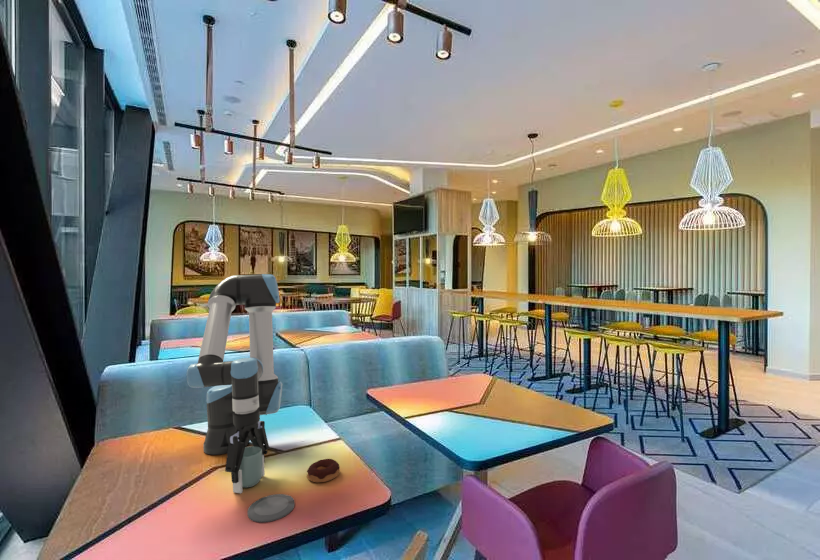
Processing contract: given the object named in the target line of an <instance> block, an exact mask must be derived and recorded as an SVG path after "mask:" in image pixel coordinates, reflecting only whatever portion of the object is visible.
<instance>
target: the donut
mask: <svg viewBox="0 0 820 560" xmlns="http://www.w3.org/2000/svg"><path fill="white" fill-rule="evenodd" d="M340 468H341V466H340V464H339V462H338V461H336V460H335V459H332V458H324V459H319V460H317V461H315V462H312V463H311V464H310V466H309V467H308V468H307V471H306V472H307V474H306V478H307V479H308V480H309V481H311V482H313V483H317V484H318V483H325V482H329V481H331V480H333V479H335V478H336V477H338V476H339V474H340V471H341V469H340Z"/></svg>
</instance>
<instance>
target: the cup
mask: <svg viewBox="0 0 820 560" xmlns="http://www.w3.org/2000/svg"><path fill="white" fill-rule="evenodd" d="M235 467H236V466H235ZM239 470H242V488H245V489H246V488H252V487H254V486H256V485H258V483H259V482H260V481H261V479H262V477H263V476H262V470H263V459H262V449H261V448H260V447H256V446H253V445H252V446H246V447H245V450H244V454H243V458H242V462H241V465H240V469H239Z"/></svg>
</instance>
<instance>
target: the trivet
mask: <svg viewBox="0 0 820 560" xmlns="http://www.w3.org/2000/svg"><path fill="white" fill-rule="evenodd" d="M295 504H296V503H295V499H294V498H293V496H292V495H289V494H285V493H276V494H275V493H274V494H269V495H267V496H263V497H261V498H259V499H257V500H255V501H253V503H251V504H250V505H249V507H248V509H247V517H248V519H249V520H250V521H252V522H255V523H270V522H275V521H279V520H280V519H283V518H284V517H287V516H288V515H289V514H290V513H291V512H292V511H293V510H294V508H295Z"/></svg>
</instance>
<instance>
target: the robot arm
mask: <svg viewBox="0 0 820 560" xmlns="http://www.w3.org/2000/svg"><path fill="white" fill-rule="evenodd" d="M278 285H279V284H278V281H277V278H276V276H275V275H274V274H272V273H271V274H270V273H269V274H268V273H267V274H266V273H261V274H260V273H258V274H235V275H230V276H228V277H226V278H224V279H223V280H221V281H220V282H219V283H218V284H217V285H216V286H215V287H214V288H213V290H212V291H211V293H210V294H209V297H208V301H207V307H208V308H209V309H208V315H207V317H206V318H207V319H206V323H205V328H204V333H203V337H202V342H201V345H200V350H199V353H198V354H199V355H198V359H197V362H196V363H191V364H190V365H189V366H188V368H187V370H186V382H187V385H188V387H190V388H192V389H194V388H195V389H196V388H197V389H198V388H200V389H202V388H203V389H204V388H209V387H211V388H209V389H208V390H207V392H206V402H205V403H206V414H207V415H206V417H207V430H206V434H205V439H204V442H203V444H202V445H203V453H205V454H206V455H211V456H213V455H214V456H215V455H224V454H226V460H225V461H226V462H225V467H224V471H225V473H230V474H231V475H230V476H231V484H232V493H237V494H242V493H243V492H244V491H243V487H242V470H239V469H240V465H241V462H242V458H243V454H244V450H245V447H248V443H249V442H250V443H251V444H252V446H256V447H260V448H261V449H262V459H263V470H262V476H261V477H264V476H265V473H266V471H265V463H266V461H265V455H267V454H268V450H269V448H270V445H269V441H268V437H267V432H266V429H265V427H266V426H265V421H264V420H261V416H263V415H265V416H267V415H271V414H272V415H273V414H276V413H278V412H279V411H280V407H281V403H282V394H283V382H282V381H280V380H279V377H278V375H276V374H275V372H274V371H275V369H274V367H275V366H274V365H275V364H274V363H275V361H274V335H273V333H274V331H273V311H275V309H276V308H277V304H279V303H280V291H279V286H278ZM238 305H239V306H241V305H244V310H245V311H246V312H247V313H248V324H249V326H248V328H249V330H248V331H249V334H248V336H249V357H244V358H243V357H242V358H237V359H234V360H230V361H229V360H228V361H227V360H226V361H224V359H225V354H226V346H227V341H228V337H229V335H228V334H229V329H230V322H231V317H232V312H233V311H234V310H235V309H236V306H238ZM235 466H236V467H235Z"/></svg>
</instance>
